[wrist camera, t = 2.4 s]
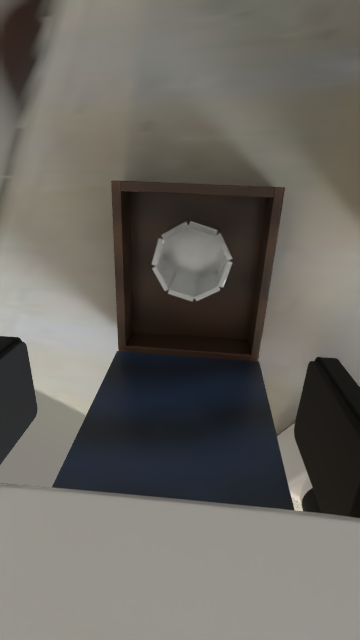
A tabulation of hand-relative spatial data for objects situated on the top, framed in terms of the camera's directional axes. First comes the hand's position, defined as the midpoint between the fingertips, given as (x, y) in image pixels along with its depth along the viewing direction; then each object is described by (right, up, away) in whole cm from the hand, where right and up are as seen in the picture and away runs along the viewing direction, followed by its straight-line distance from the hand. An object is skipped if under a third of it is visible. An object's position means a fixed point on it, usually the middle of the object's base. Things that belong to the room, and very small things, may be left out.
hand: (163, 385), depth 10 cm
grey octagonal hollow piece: (+2, +9, +21) cm, 23 cm away
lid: (+1, -6, +14) cm, 15 cm away
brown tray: (+2, +8, +23) cm, 24 cm away
